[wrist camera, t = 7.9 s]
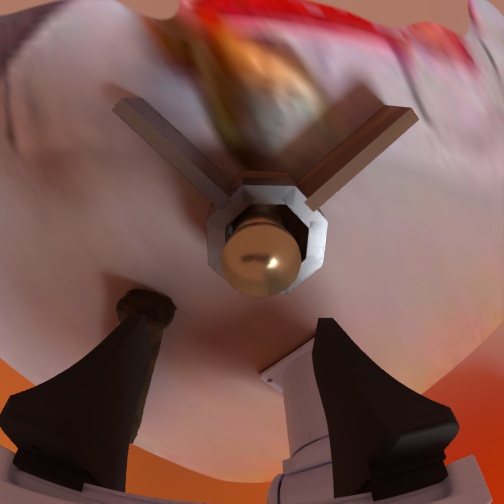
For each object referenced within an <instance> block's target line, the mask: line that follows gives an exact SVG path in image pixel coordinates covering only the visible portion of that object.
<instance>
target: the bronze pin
mask: <svg viewBox="0 0 504 504" xmlns="http://www.w3.org/2000/svg"><path fill="white" fill-rule="evenodd" d="M221 265H222V271H223V274H224V276H225V278H226V280H227V281H228V283H229V284H230V285H231V286H232V287H233V288H234V289H236V290H237V291H239V292H241V293H243V294H246V295H249V296H253V297H267V296H272V295H275V294H278V293H280V292H282V291H284V290H285V289H287V288H288V287H289V286H290V285H291V284H292V283H293V282H294V281H295V279H296V278H297V276H298V274H299V272H300V268H301V254H300V250H299V247H298V245H297V242H296V240H295V239H294V237H293V236H292V235H291V234H290V233H289V232H288V231H287V230H286V229H284V226H283V222H282V219H281V216H280V212H279V210H278V208H277V206H276V205H275V204H250V205H249V206H248V207H247V208H246V209H245V210H243V211H242V212H241V213H240V214H239V215H238V216H237V217H236V218H235V219H234V220H233V231H232V235H231V236H230V237H229V238H228V240H227V241H226V243H225V245H224V248H223V253H222V263H221Z"/></svg>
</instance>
